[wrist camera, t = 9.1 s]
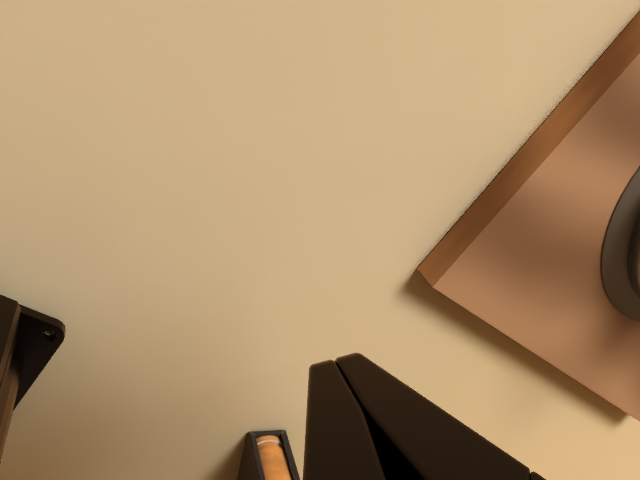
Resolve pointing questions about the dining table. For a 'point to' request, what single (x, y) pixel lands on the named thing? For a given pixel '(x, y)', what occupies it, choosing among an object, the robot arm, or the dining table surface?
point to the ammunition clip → (267, 457)
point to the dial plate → (563, 235)
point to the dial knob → (634, 259)
